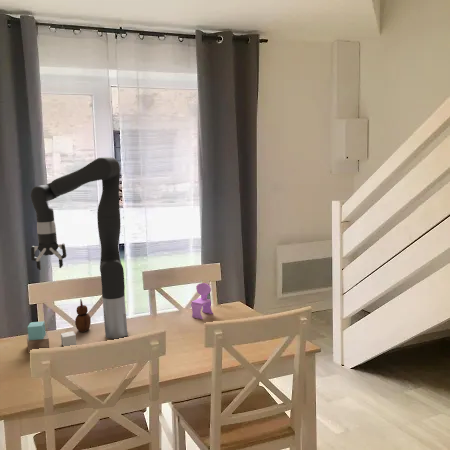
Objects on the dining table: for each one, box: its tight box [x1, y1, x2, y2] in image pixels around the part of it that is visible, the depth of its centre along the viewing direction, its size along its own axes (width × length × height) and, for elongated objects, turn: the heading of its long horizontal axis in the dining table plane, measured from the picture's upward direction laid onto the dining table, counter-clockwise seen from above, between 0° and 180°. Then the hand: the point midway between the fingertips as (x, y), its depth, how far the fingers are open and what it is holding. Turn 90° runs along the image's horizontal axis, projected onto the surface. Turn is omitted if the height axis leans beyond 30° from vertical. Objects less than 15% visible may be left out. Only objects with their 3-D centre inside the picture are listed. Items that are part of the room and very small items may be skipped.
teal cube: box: [27, 320, 47, 340], centre depth 210 cm, size 6×6×6 cm
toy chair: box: [190, 282, 214, 320], centre depth 242 cm, size 8×9×15 cm
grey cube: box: [60, 330, 78, 347], centre depth 213 cm, size 5×5×5 cm
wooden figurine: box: [74, 298, 92, 333], centre depth 228 cm, size 7×6×15 cm
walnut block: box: [25, 331, 50, 354], centre depth 212 cm, size 8×8×5 cm
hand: (50, 268), depth 226 cm, fingers open, 8 cm apart
